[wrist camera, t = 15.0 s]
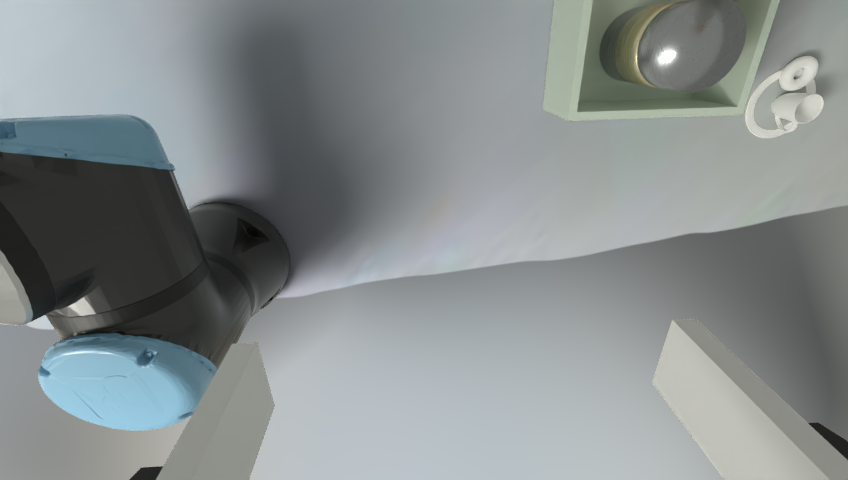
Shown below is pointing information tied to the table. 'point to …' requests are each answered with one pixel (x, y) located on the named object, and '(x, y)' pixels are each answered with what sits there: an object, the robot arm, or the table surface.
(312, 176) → the table surface
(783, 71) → the white curved piece
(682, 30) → the can
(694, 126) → the table surface
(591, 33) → the tote
